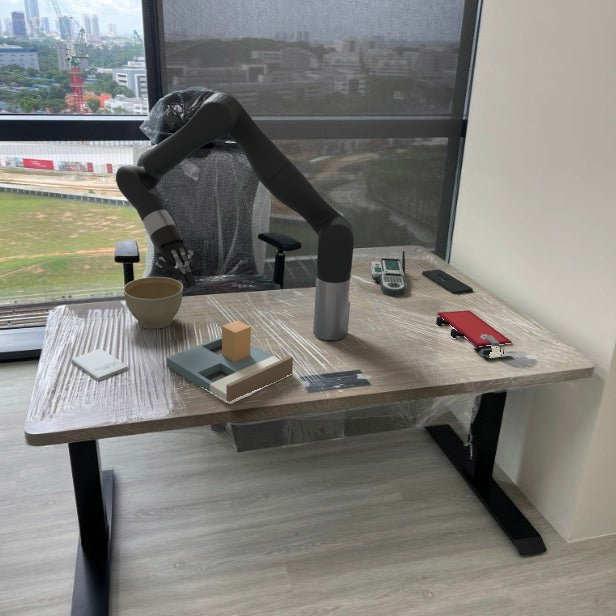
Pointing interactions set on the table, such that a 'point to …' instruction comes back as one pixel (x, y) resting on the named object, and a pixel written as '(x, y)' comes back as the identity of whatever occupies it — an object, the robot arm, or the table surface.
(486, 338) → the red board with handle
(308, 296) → the table surface
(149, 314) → the planter bowl
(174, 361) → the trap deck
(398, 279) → the communication device
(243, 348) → the orange block
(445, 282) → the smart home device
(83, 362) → the external hard drive
